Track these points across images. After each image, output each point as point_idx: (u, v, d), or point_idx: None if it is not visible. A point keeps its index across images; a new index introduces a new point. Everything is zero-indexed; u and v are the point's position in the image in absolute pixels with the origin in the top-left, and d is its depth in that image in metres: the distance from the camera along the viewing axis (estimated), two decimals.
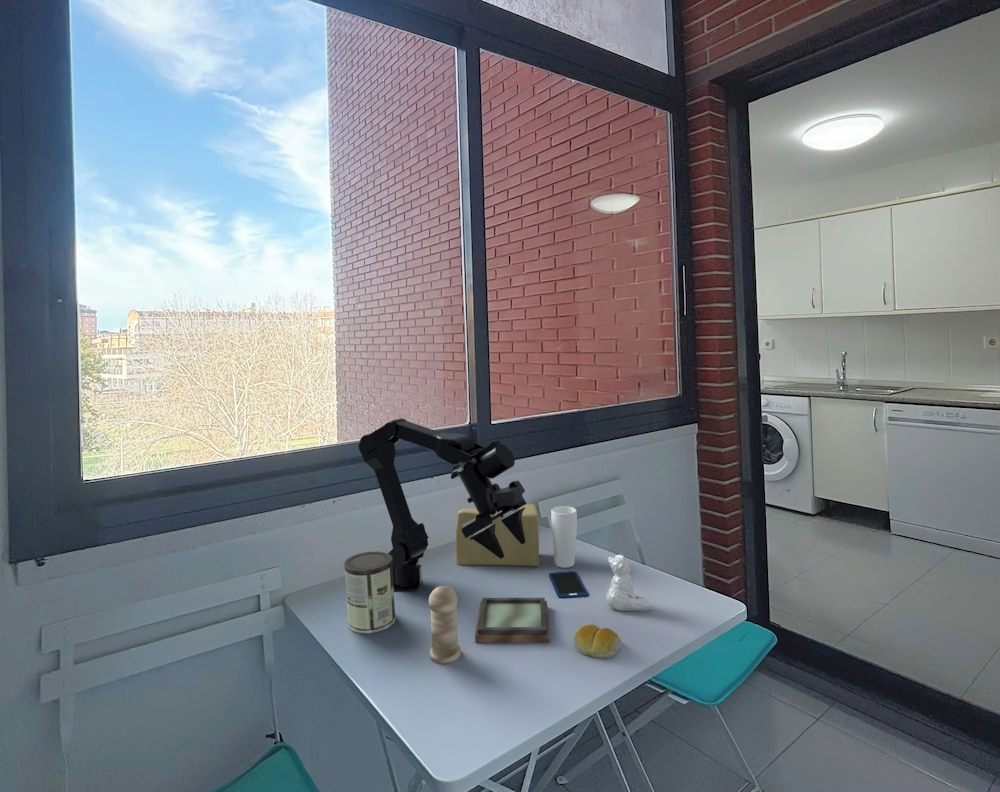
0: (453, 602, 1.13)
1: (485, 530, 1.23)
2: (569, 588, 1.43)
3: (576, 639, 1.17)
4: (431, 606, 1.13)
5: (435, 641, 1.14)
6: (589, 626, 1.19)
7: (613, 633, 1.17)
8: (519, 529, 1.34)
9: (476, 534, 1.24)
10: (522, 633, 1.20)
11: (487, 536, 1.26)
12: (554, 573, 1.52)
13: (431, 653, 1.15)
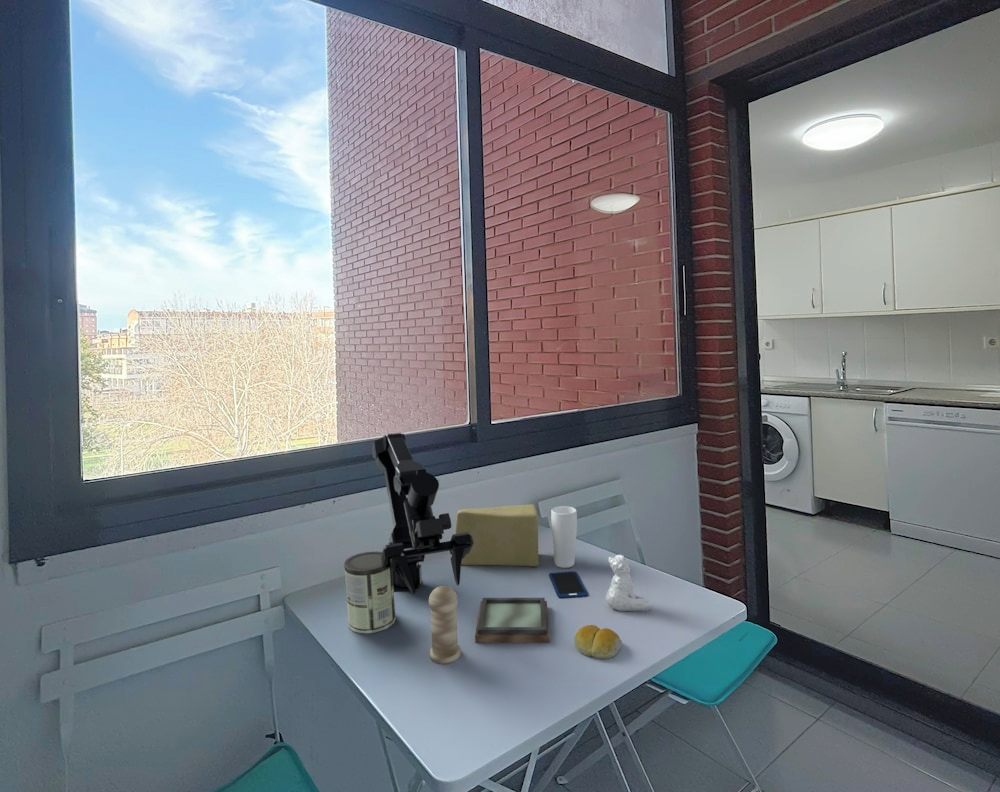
0: (453, 602, 1.13)
1: (392, 560, 1.19)
2: (569, 588, 1.43)
3: (577, 640, 1.17)
4: (431, 606, 1.13)
5: (435, 641, 1.14)
6: (589, 626, 1.19)
7: (613, 633, 1.17)
8: (455, 568, 1.22)
9: (390, 564, 1.21)
10: (522, 633, 1.20)
11: None
12: (554, 573, 1.52)
13: (431, 653, 1.15)
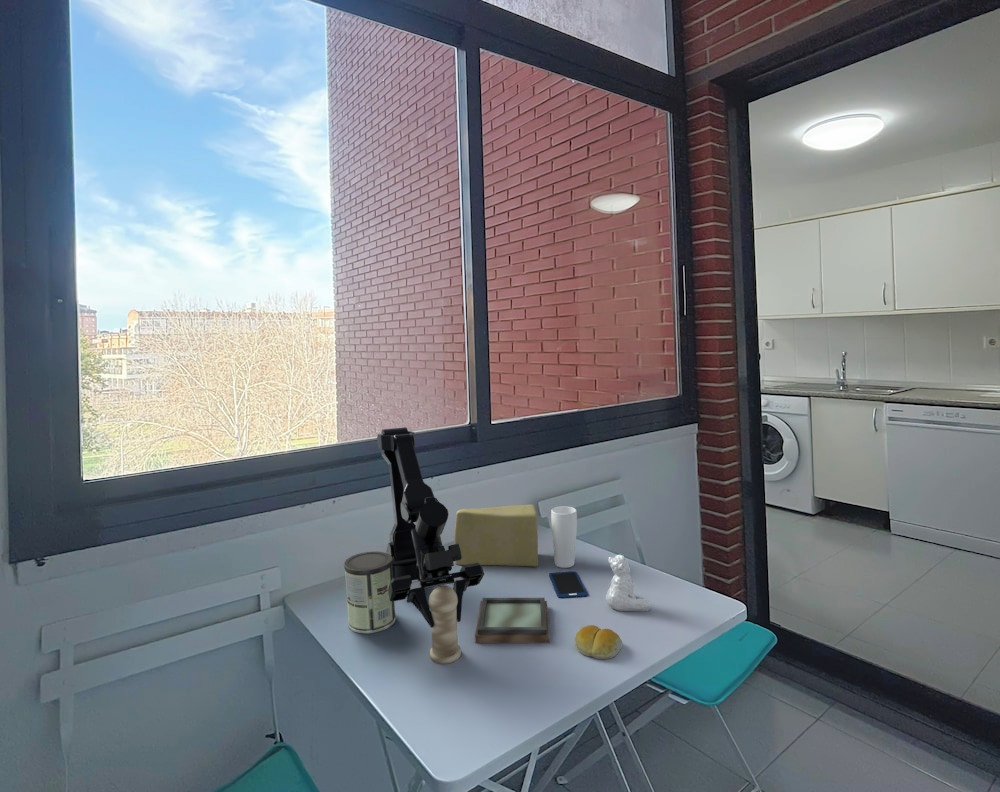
0: (453, 602, 1.13)
1: (409, 592, 1.14)
2: (569, 588, 1.43)
3: (577, 640, 1.17)
4: (431, 606, 1.13)
5: (435, 641, 1.14)
6: (590, 627, 1.19)
7: (614, 634, 1.16)
8: None
9: None
10: (522, 633, 1.20)
11: None
12: (554, 573, 1.52)
13: (431, 653, 1.15)
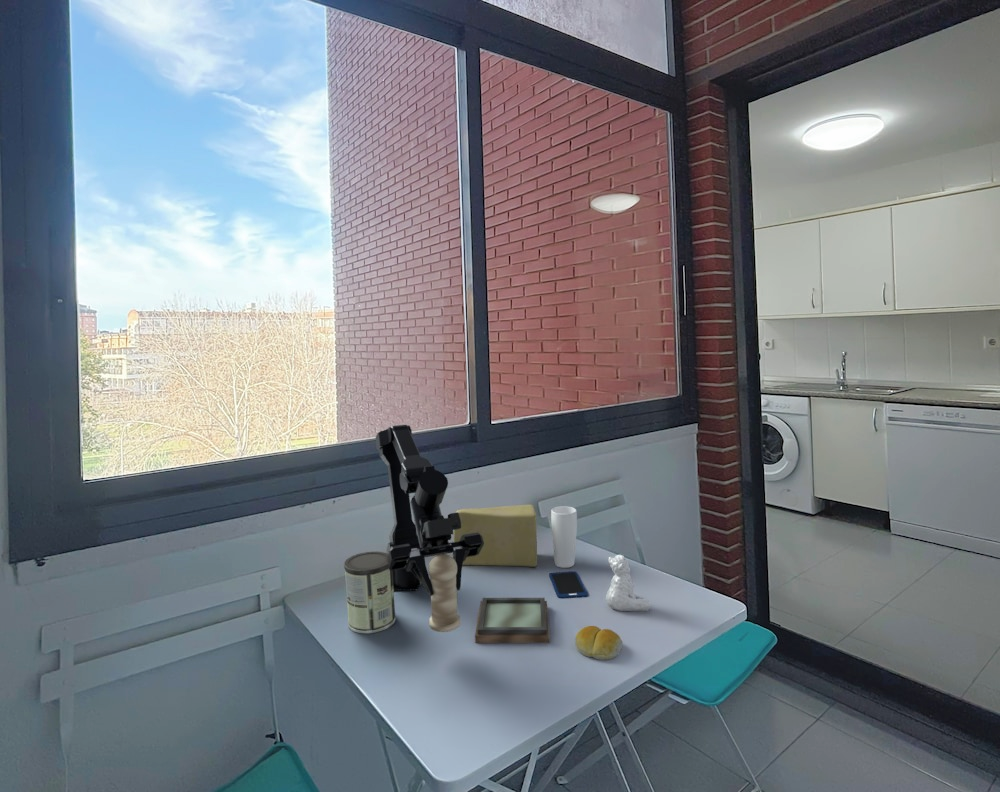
0: (453, 570, 1.12)
1: (409, 560, 1.13)
2: (569, 588, 1.43)
3: (577, 641, 1.16)
4: (431, 574, 1.12)
5: (435, 609, 1.13)
6: (590, 627, 1.19)
7: (614, 634, 1.16)
8: None
9: (407, 565, 1.16)
10: (522, 633, 1.20)
11: None
12: (554, 573, 1.52)
13: (430, 622, 1.14)
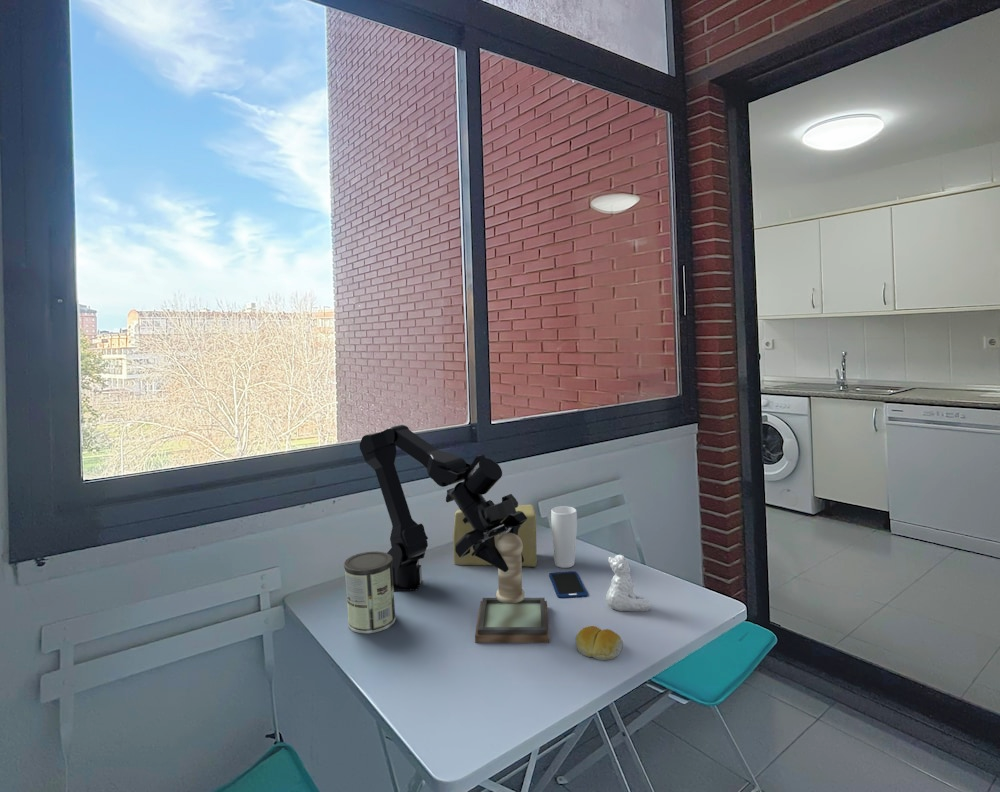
0: (522, 544, 1.24)
1: (483, 543, 1.21)
2: (569, 588, 1.43)
3: (578, 641, 1.16)
4: (505, 552, 1.22)
5: (508, 583, 1.23)
6: (590, 627, 1.19)
7: (615, 634, 1.16)
8: None
9: (476, 549, 1.23)
10: (522, 633, 1.20)
11: (488, 550, 1.23)
12: (554, 573, 1.52)
13: (502, 597, 1.24)
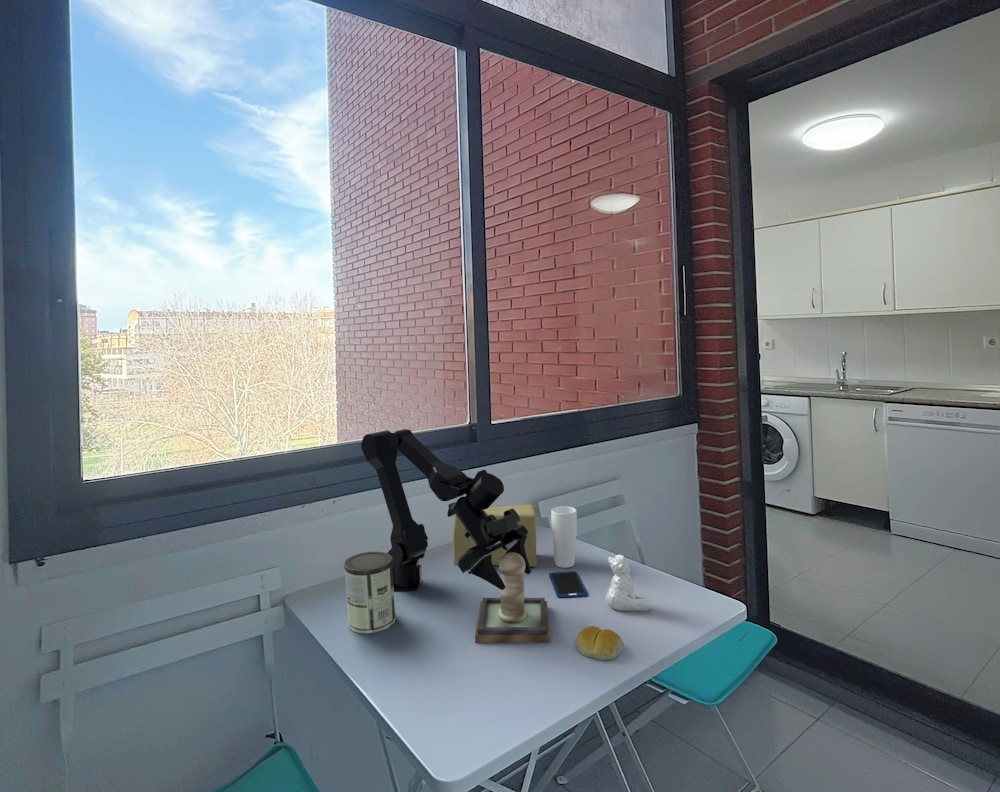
0: None
1: (480, 561, 1.20)
2: (569, 588, 1.43)
3: (578, 641, 1.16)
4: (508, 571, 1.24)
5: (511, 603, 1.24)
6: (591, 628, 1.18)
7: (615, 635, 1.16)
8: None
9: (473, 567, 1.22)
10: (522, 633, 1.20)
11: (485, 568, 1.23)
12: (554, 573, 1.52)
13: (504, 616, 1.25)
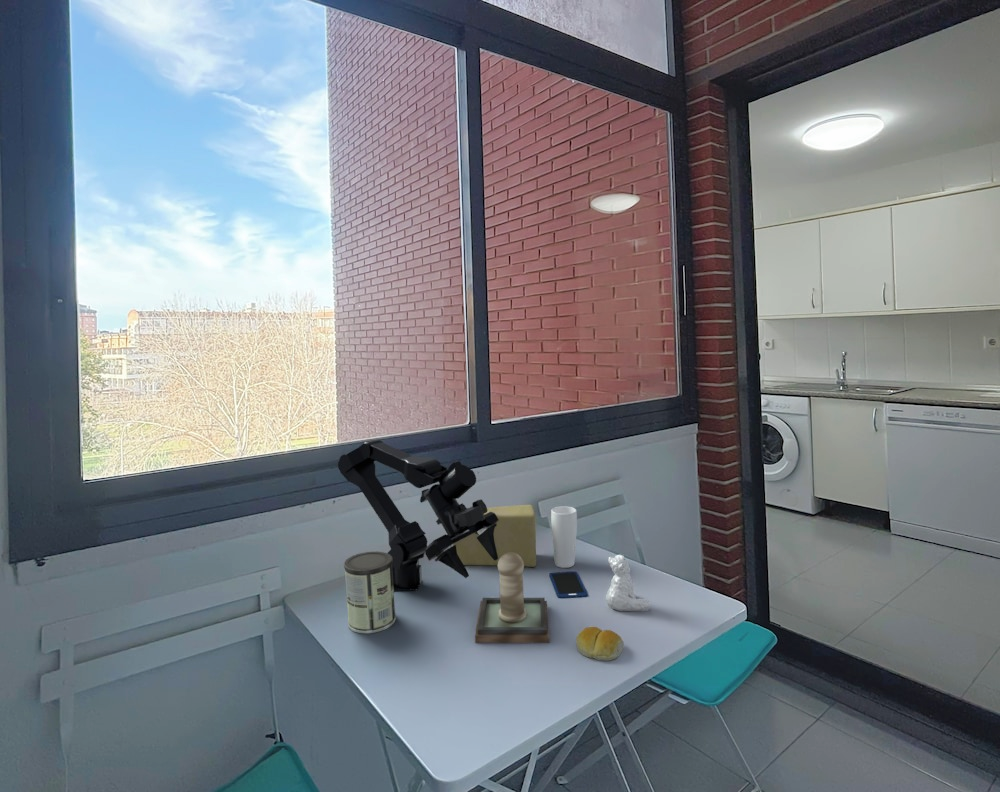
0: (523, 564, 1.26)
1: (444, 552, 1.27)
2: (569, 588, 1.43)
3: (579, 642, 1.16)
4: (507, 571, 1.24)
5: (510, 603, 1.24)
6: (591, 628, 1.18)
7: (616, 635, 1.16)
8: (491, 546, 1.36)
9: (438, 556, 1.29)
10: (522, 633, 1.20)
11: (450, 557, 1.30)
12: (554, 573, 1.52)
13: (504, 616, 1.25)
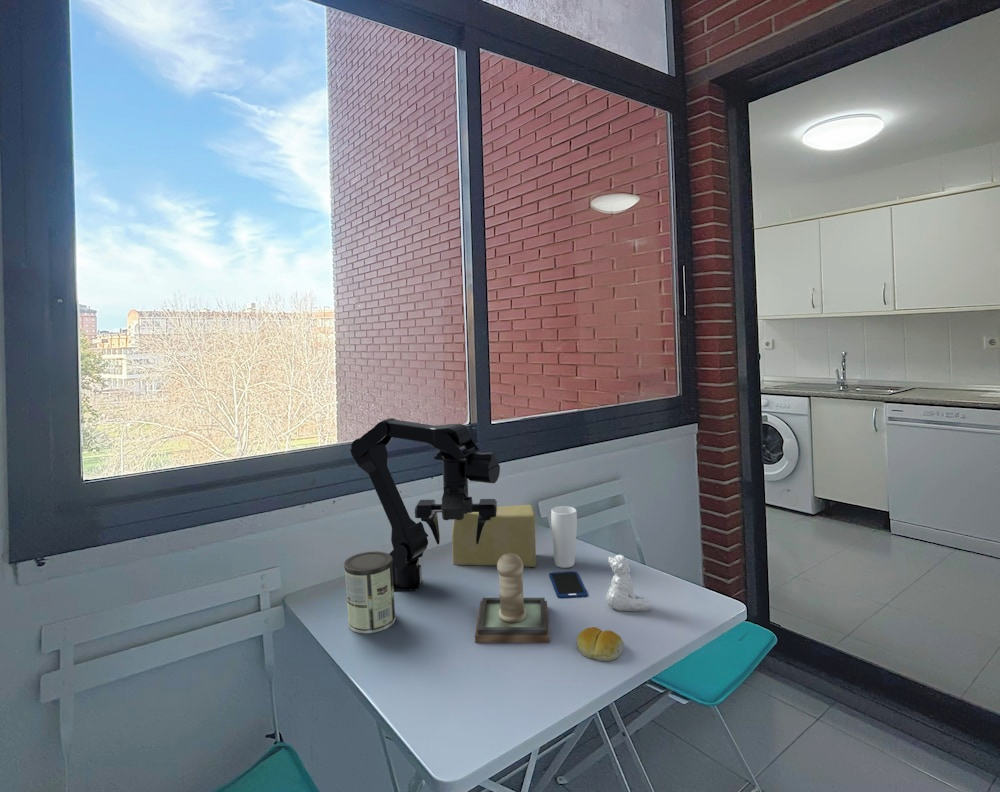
0: (522, 564, 1.25)
1: (421, 519, 1.37)
2: (569, 588, 1.43)
3: (579, 642, 1.16)
4: (506, 573, 1.23)
5: (511, 603, 1.24)
6: (592, 628, 1.18)
7: (616, 635, 1.16)
8: None
9: None
10: (522, 633, 1.20)
11: None
12: (555, 573, 1.52)
13: (505, 617, 1.25)
